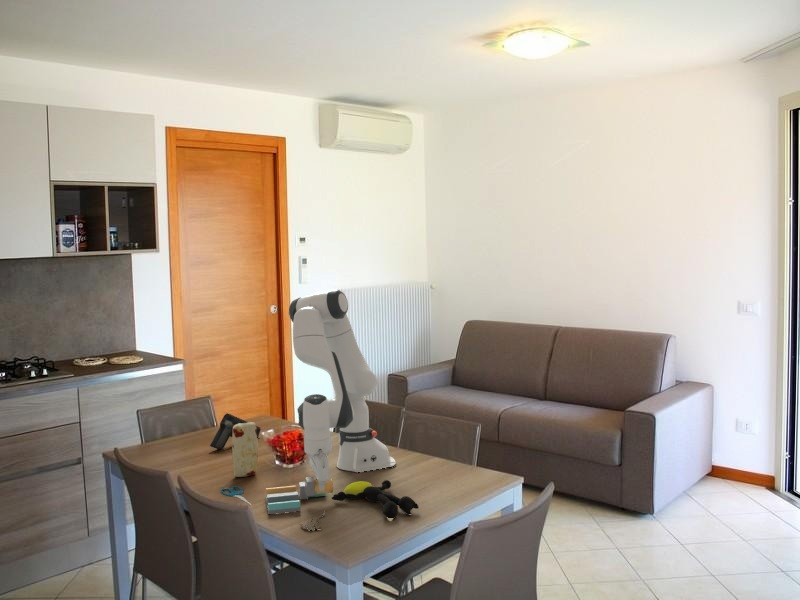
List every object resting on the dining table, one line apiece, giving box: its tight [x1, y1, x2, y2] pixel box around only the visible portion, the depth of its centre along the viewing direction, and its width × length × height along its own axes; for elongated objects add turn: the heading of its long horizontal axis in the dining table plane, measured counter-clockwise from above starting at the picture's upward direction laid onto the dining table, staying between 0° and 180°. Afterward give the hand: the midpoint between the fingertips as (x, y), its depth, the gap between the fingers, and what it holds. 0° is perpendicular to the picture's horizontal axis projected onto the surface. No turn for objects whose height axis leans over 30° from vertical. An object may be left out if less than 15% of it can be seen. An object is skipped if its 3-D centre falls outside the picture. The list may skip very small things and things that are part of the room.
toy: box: [331, 479, 419, 519], centre depth 231 cm, size 23×6×30 cm
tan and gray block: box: [304, 476, 334, 496], centre depth 231 cm, size 8×4×5 cm, turn 106°
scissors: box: [220, 485, 252, 506], centre depth 240 cm, size 7×1×20 cm
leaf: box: [299, 510, 326, 532], centre depth 216 cm, size 11×15×2 cm
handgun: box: [209, 412, 262, 451], centre depth 305 cm, size 2×24×15 cm, turn 148°
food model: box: [231, 421, 259, 478], centre depth 261 cm, size 10×7×20 cm
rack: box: [265, 485, 301, 515], centre depth 231 cm, size 10×15×4 cm, turn 14°
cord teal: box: [298, 481, 327, 500], centre depth 238 cm, size 8×4×5 cm, turn 103°
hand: (320, 487), depth 231 cm, fingers closed on tan and gray block, 4 cm apart
